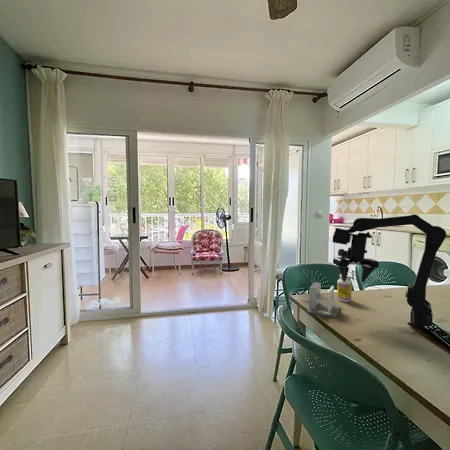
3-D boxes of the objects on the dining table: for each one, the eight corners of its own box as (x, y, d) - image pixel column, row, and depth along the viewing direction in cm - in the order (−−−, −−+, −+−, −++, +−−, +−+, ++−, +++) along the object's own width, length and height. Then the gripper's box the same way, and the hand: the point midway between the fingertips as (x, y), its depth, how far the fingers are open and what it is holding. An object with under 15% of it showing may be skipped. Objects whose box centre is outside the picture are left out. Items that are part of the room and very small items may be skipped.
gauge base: (340, 307, 124) (340, 305, 124) (335, 318, 112) (335, 315, 112) (313, 303, 130) (313, 301, 130) (306, 312, 118) (306, 310, 118)
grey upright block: (333, 305, 123) (334, 286, 123) (329, 313, 113) (330, 292, 113) (316, 302, 127) (316, 284, 127) (311, 310, 117) (311, 290, 117)
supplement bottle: (336, 300, 134) (336, 275, 133) (337, 297, 140) (337, 272, 139) (351, 302, 131) (351, 277, 130) (351, 299, 136) (352, 274, 136)
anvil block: (320, 303, 127) (320, 283, 126) (316, 310, 118) (316, 288, 118) (313, 302, 128) (314, 282, 128) (309, 309, 120) (309, 287, 119)
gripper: (364, 244, 125) (359, 276, 126) (328, 242, 121) (323, 275, 123) (382, 249, 114) (377, 284, 115) (343, 247, 110) (338, 283, 112)
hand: (353, 281), depth 117 cm, fingers open, 9 cm apart
